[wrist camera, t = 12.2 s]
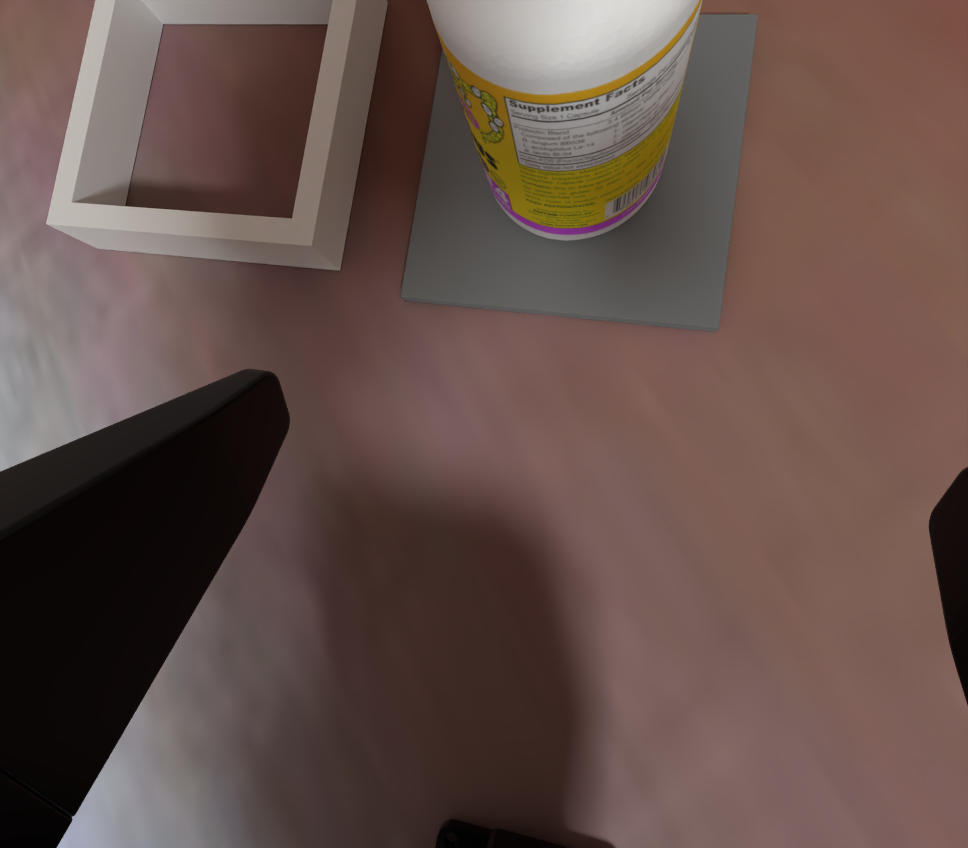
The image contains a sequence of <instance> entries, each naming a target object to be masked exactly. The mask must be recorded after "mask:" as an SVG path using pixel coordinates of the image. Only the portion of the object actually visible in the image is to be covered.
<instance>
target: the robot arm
mask: <svg viewBox="0 0 968 848" xmlns="http://www.w3.org/2000/svg"><path fill="white" fill-rule="evenodd" d="M289 424H290V416H289V412H288V408H287V405H286V402H285V399H284V395H283V392H282V389H281V385H280V382H279V379H278V377H277V376H276V375H275V374H274V373H272V372H270V371H264V370H256V369H245V370H242V371H239V372H237V373H235V374H232V375H230V376H228V377H225V378H223V379H220V380H218V381H216V382H213V383H211V384H208V385H206V386H204V387H201V388H199V389H197V390H194V391H192V392H189V393H187V394H185V395H182V396H180V397H177V398H175V399H173V400H170V401H168V402H165V403H163V404H161V405H158V406H156V407H154V408H151V409H149V410H146V411H144V412H142V413H139V414H137V415H134V416H132V417H130V418H127V419H125V420H123V421H120V422H118V423H115V424H113V425H111V426H108V427H106V428H103V429H101V430H99V431H96V432H94V433H91V434H89V435H87V436H84V437H82V438H80V439H77V440H75V441H72V442H70V443H68V444H65V445H63V446H60V447H58V448H56V449H53V450H51V451H49V452H46V453H44V454H41V455H39V456H37V457H34V458H32V459H29V460H27V461H25V462H22V463H20V464H17V465H15V466H13V467H10V468H8V469H6V470H3V471H1V472H0V848H57V846H58V844H59V843H60V841H61V839H62V837H63V836H64V834H65V832H66V831H67V829H68V827H69V825H70V824H71V822H72V817H73V816H74V815H75V814H76V813H77V811H78V809H79V807H80V806H81V804H82V802H83V801H84V799H85V797H86V795H87V794H88V792H89V790H90V789H91V787H92V785H93V783H94V782H95V780H96V778H97V777H98V775H99V773H100V772H101V770H102V768H103V766H104V765H105V763H106V761H107V760H108V758H109V756H110V754H111V753H112V751H113V749H114V748H115V746H116V744H117V742H118V741H119V739H120V737H121V736H122V734H123V732H124V730H125V729H126V727H127V725H128V724H129V722H130V720H131V718H132V717H133V715H134V713H135V712H136V710H137V708H138V706H139V705H140V703H141V701H142V700H143V698H144V696H145V694H146V693H147V691H148V689H149V688H150V686H151V684H152V682H153V681H154V679H155V677H156V676H157V674H158V672H159V670H160V669H161V667H162V665H163V664H164V662H165V660H166V658H167V657H168V655H169V653H170V652H171V650H172V648H173V647H174V645H175V643H176V641H177V640H178V638H179V636H180V635H181V633H182V631H183V629H184V628H185V626H186V624H187V623H188V621H189V619H190V617H191V616H192V614H193V612H194V611H195V609H196V607H197V605H198V604H199V602H200V600H201V599H202V597H203V595H204V593H205V592H206V590H207V588H208V587H209V585H210V583H211V581H212V580H213V578H214V576H215V575H216V573H217V571H218V569H219V568H220V566H221V564H222V563H223V561H224V559H225V557H226V556H227V554H228V552H229V551H230V549H231V547H232V545H233V544H234V542H235V540H236V539H237V537H238V535H239V533H240V532H241V530H242V528H243V527H244V525H245V523H246V521H247V519H248V517H249V516H250V514H251V512H252V510H253V508H254V506H255V504H256V501H257V499H258V497H259V495H260V493H261V490H262V488H263V486H264V484H265V481H266V479H267V477H268V475H269V472H270V470H271V468H272V466H273V463H274V461H275V459H276V457H277V455H278V452H279V450H280V448H281V446H282V443H283V441H284V439H285V437H286V434H287V432H288V429H289ZM929 533H930V539H931V545H932V551H933V556H934V562H935V568H936V574H937V579H938V585H939V591H940V596H941V602H942V608H943V614H944V619H945V625H946V630H947V634H948V639H949V644H950V647H951V651H952V655H953V658H954V662H955V666H956V669H957V672H958V675H959V679H960V682H961V685H962V688H963V692H964V695H965V698H966V701H967V705H968V467H967V468H965V469H963V470H962V471H961V472H960V473H959V475H958V476H957V477H956V479H955V480H954V481H953V483H952V484H951V486H950V487H949V488H948V490H947V491H946V492H945V494H944V495H943V497H942V498H941V499H940V501H939V502H938V503H937V505H936V506H935V508H934V509H933V511H932V513H931V516H930V520H929ZM450 833H452V834H454V835H455V836H456V837H457V839H458V841H456V842H452V841H450V840H449V839H448V838H447V834H450ZM436 848H566V847H564V846H561V845H557V844H554V843H550V842H546V841H543V840H539V839H536V838H532V837H528V836H525V835H521V834H518V833H514V832H511V831H507V830H503V829H499V828H498V829H496V830H490V829H487V828H483V827H480V826H476V825H472V824H469V823H465V822H462V821H458V820H451V819H450V820H448V821H445V822H444V823H443V825H442V826H441V828H440V831H439V833H438V836H437V841H436Z"/></svg>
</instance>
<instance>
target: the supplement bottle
mask: <svg viewBox="0 0 968 848" xmlns="http://www.w3.org/2000/svg"><path fill="white" fill-rule="evenodd" d="M702 2H703V0H427V3H428V6H429V10H430V13H431V16H432V19H433V23H434V25H435V28H436V31H437V34H438V37H439V40H440V43H441V45H442V48H443V51H444V54H445V57H446V60H447V63H448V66H449V69H450V72H451V75H452V77H453V80H454V83H455V86H456V89H457V92H458V95H459V98H460V101H461V105H462V108H463V111H464V113H465V116H466V119H467V122H468V125H469V128H470V131H471V134H472V137H473V140H474V143H475V146H476V149H477V152H478V154H479V157H480V160H481V163H482V166H483V169H484V172H485V175H486V178H487V180H488V183H489V185H490V188H491V190H492V192H493V194H494V197H495V198H496V200H497V202H498V204H499V205H500V206H501V208H502V209H503V210H504V212H505V213H506V214H507V215H508V216H509V217H510V218H511V219H512V220H513V221H514V222H516V223H517V224H518V225H520V226H521V227H523V228H524V229H526V230H528V231H530V232H532V233H534V234H536V235H539V236H542V237H545V238H549V239H555V240H564V241H568V240H579V239H585V238H590V237H594V236H597V235H600V234H603V233H605V232H608V231H610V230H612V229H614V228H616V227H617V226H619V225H621V224H622V223H624V222H625V221H626V220H628V219H629V218H630V217H631V216H633V215H634V214H635V213H636V212H637V211H638V210H639V209H640V208H641V207H642V205H643V204H644V203H645V202H646V200H647V199H648V198H649V196H650V195H651V193H652V192H653V190H654V188H655V186H656V184H657V182H658V180H659V178H660V175H661V173H662V169H663V166H664V162H665V159H666V155H667V151H668V147H669V143H670V138H671V134H672V130H673V125H674V121H675V117H676V112H677V108H678V104H679V99H680V95H681V91H682V87H683V82H684V78H685V74H686V69H687V65H688V61H689V56H690V52H691V48H692V44H693V40H694V36H695V32H696V27H697V23H698V19H699V15H700V10H701V6H702Z"/></svg>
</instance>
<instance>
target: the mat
mask: <svg viewBox="0 0 968 848" xmlns="http://www.w3.org/2000/svg"><path fill="white" fill-rule="evenodd" d="M757 18H758V14H700V15H699V19H698V23H697V27H696V32H695V36H694V40H693V44H692V48H691V52H690V56H689V61H688V65H687V69H686V74H685V78H684V82H683V87H682V91H681V95H680V99H679V104H678V108H677V112H676V117H675V121H674V125H673V130H672V134H671V138H670V143H669V147H668V151H667V155H666V159H665V162H664V166H663V169H662V173H661V175H660V178H659V180H658V182H657V184H656V186H655V188H654V190H653V192H652V193H651V195H650V196H649V198H648V199H647V200H646V202H645V203H644V204H643V205H642V207H641V208H640V209H639V210H638V211H637V212H636V213H635V214H634V215H633V216H631V217H630V218H629V219H628V220H626V221H625V222H624V223H622V224H621V225H619V226H617V227H616V228H614V229H612V230H610V231H608V232H605V233H603V234H600V235H597V236H594V237H590V238H585V239H579V240H568V241H564V240H555V239H549V238H545V237H542V236H539V235H536V234H534V233H532V232H530V231H528V230H526V229H524V228H523V227H521V226H520V225H518V224H517V223H516V222H514V221H513V220H512V219H511V218H510V217H509V216H508V215H507V214H506V213H505V212H504V210H503V209H502V208H501V206H500V205H499V204H498V202H497V200H496V198H495V197H494V194H493V192H492V190H491V188H490V185H489V183H488V180H487V178H486V175H485V172H484V169H483V166H482V163H481V160H480V157H479V154H478V152H477V149H476V146H475V143H474V140H473V137H472V134H471V131H470V128H469V125H468V122H467V119H466V116H465V113H464V111H463V108H462V105H461V101H460V98H459V95H458V92H457V89H456V86H455V83H454V80H453V77H452V75H451V72H450V69H449V66H448V63H447V60H446V57H445V54H444V51H443V48H442V54H441V60H440V66H439V72H438V77H437V83H436V89H435V95H434V101H433V107H432V113H431V119H430V125H429V131H428V137H427V142H426V148H425V154H424V160H423V166H422V172H421V178H420V184H419V190H418V196H417V201H416V207H415V213H414V219H413V225H412V231H411V237H410V243H409V249H408V255H407V261H406V266H405V272H404V278H403V284H402V290H401V296H400V297H401V298H402V299H403V300H404V301H411V302H421V303H431V304H441V305H451V306H461V307H471V308H482V309H492V310H502V311H512V312H522V313H532V314H542V315H552V316H562V317H572V318H582V319H592V320H602V321H612V322H622V323H632V324H642V325H652V326H662V327H672V328H682V329H692V330H702V331H712V332H716V331H717V330H718V329H719V323H720V315H721V307H722V299H723V291H724V283H725V275H726V267H727V259H728V251H729V243H730V235H731V227H732V219H733V211H734V203H735V195H736V187H737V179H738V171H739V163H740V155H741V147H742V139H743V131H744V123H745V115H746V106H747V98H748V90H749V82H750V74H751V66H752V58H753V50H754V42H755V34H756V26H757Z"/></svg>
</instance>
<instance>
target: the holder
mask: <svg viewBox="0 0 968 848" xmlns="http://www.w3.org/2000/svg"><path fill="white" fill-rule="evenodd" d="M387 5H388V2H387V0H96V1H95V5H94V10H93V14H92V19H91V23H90V28H89V32H88V37H87V41H86V46H85V50H84V55H83V59H82V64H81V69H80V73H79V78H78V82H77V87H76V91H75V96H74V100H73V105H72V109H71V114H70V118H69V123H68V127H67V132H66V137H65V141H64V146H63V150H62V155H61V159H60V164H59V168H58V173H57V177H56V182H55V186H54V191H53V195H52V200H51V204H50V209H49V214H48V218H47V223H46V224H47V225H49V226H51V227H53V228H56V229H58V230H60V231H62V232H64V233H66V234H68V235H70V236H72V237H74V238H76V239H78V240H81V241H83V242H85V243H87V244H89V245H91V246H93V247H95V248H97V249H108V250H119V251H130V252H141V253H152V254H162V255H173V256H184V257H195V258H206V259H217V260H228V261H239V262H250V263H261V264H272V265H283V266H294V267H305V268H316V269H327V270H338V271H340V269H341V263H342V257H343V252H344V246H345V240H346V235H347V229H348V224H349V218H350V212H351V207H352V201H353V196H354V190H355V184H356V179H357V173H358V168H359V162H360V156H361V151H362V145H363V140H364V134H365V128H366V123H367V117H368V112H369V106H370V100H371V95H372V89H373V83H374V78H375V72H376V67H377V61H378V55H379V50H380V44H381V39H382V33H383V27H384V22H385V16H386V11H387ZM163 24H328V28H327V34H326V39H325V44H324V50H323V55H322V60H321V66H320V71H319V76H318V82H317V87H316V93H315V98H314V103H313V109H312V114H311V119H310V125H309V130H308V135H307V141H306V146H305V152H304V157H303V162H302V168H301V173H300V178H299V184H298V189H297V194H296V200H295V205H294V211H293V216H292V219H291V218H277V217H264V216H250V215H236V214H223V213H209V212H196V211H182V210H168V209H155V208H141V207H128V206H125V204H126V200H127V195H128V190H129V185H130V181H131V176H132V171H133V166H134V162H135V157H136V152H137V147H138V143H139V138H140V133H141V128H142V124H143V119H144V114H145V109H146V105H147V100H148V95H149V90H150V86H151V81H152V76H153V71H154V66H155V62H156V57H157V52H158V47H159V43H160V38H161V33H162V28H163Z"/></svg>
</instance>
